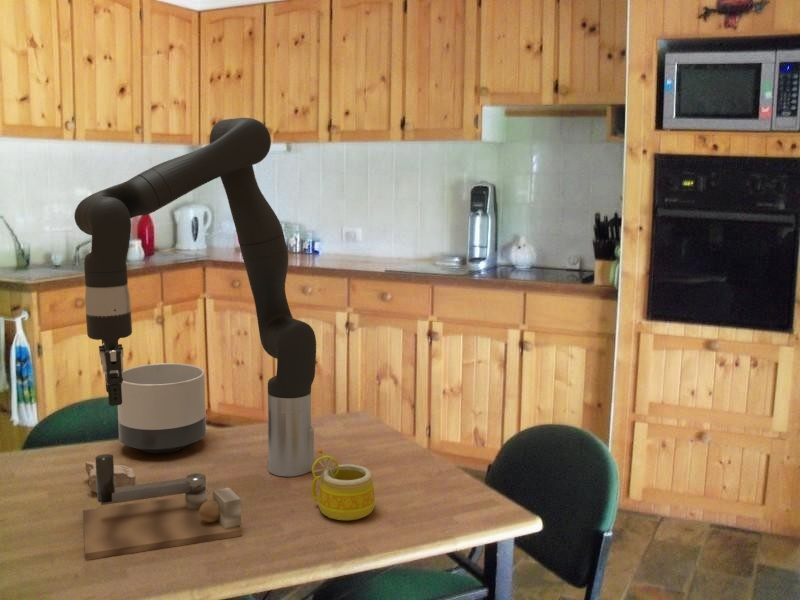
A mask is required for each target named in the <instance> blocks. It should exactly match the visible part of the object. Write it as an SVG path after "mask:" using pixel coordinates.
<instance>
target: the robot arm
mask: <svg viewBox="0 0 800 600" xmlns="http://www.w3.org/2000/svg"><path fill="white" fill-rule="evenodd" d="M271 145H272V138H271V134H270V131H269V130H268V128H267V126H266V125H265V124H264V123H263V122H261V121H259V120H257V119H255V118H252V117H236V118H228V119H222V120H218V122H216V123H215V124H214V125H213V126H212V129H211V131H210V134H209V143H208V144H207V145H205V146H203V147H200V148H198V149H197V150H194V151H191V152H188V153H185V154H183V155H179V156H177V157H174V158H172V159H168V160H166V161H163V162H161V163H159V164H156V165H154V166H152V167H150V168H148V169H146V170H144V171H142V172H140V173H138V174H137V175H135V176H132V178H130V179H128V180H126V181H124V182H122V183H118V184H115V185H112V186H110V187H108V188H104V189H102V190H99V191H97V192H94V193H92V194H90V195H89V196H86V197H85V198H83V199H82V200H81V201H80V202H79V203H78V205H77V206H76V207H75V211H74V215H73V216H74V222H75V224H76V226H77V228H78V229H79V231H80V230H81V232H82V233H85V234H87V235H88V236H91V248H90V249H91V250H90V252H89V253H87V254H85V258H84V263H83V268H84V282H85V290H84V291H85V294H84V303H85V321H86V332H87V333H86V335H87V338H89V339H92V340H96V341H101V345H99V346H98V354H99V359H100V364H101V366H102V374H104V378H105V391H106V393H107V394H108V395H107V396H108V397H107V398H108V405H109V406H110V407H111V406H112V407H115V406H118V405H121V404H122V390H121V384H122V382H123V378H122V372H123V370H124V359H123V357H124V347H123V344H122V343H120V344H119V341H120V339H124V338H128V337H129V336H131V335H132V333H133V326H132V325H133V322H132V311H131V310H132V309H131V295H130V290H129V282H128V281H129V280H128V279H129V278H128V267H127V257H128V253H129V246H130V240H131V233H132V221H131V220H132V218H135V217H141V216H146V215H150V214H152V213H155V212H156V211H158V210H160V209H162V208H163V207H165V206H168V205H169V204H171V203H173V202H174V201H177V199H180V198H181V197H183V196H185V195H187V194H188V193H190V192H192V191H194V190H195V189H198V188H199V187H202V186H203V185H205V184H207V183H209V182H211V181H214V180H215V179H218V178H220V180H221V183H222V185H223V188H224V192H225V194H226V199H227V202H228V205H229V209H230V213H231V217H232V221H233V224H234V227H235V232H236V236H237V240H238V241H237V242H238V245H239V248H240V249H239V250H240V253H241V256H242V260H243V264H244V267H245V269H246V270H245V271H246V275H247V278H248V279H247V280H248V283H249V285H250V286H249V287H250V289H251V290H250V291H251V293H252V296H253V300H254V306H255V313H256V318H257V319H256V320H257V325H258V326H257V327H258V332H259V338H260V343H261V345H262V348H263V350H264V351H265V352H266V353H267V355H269V356H270V357H272V358H274V359H275V360H276V374H275V375H274V376H273V377H272V376H271V377H270V378H269V379H268V381H267V450H268V451H267V455H268V456H267V457H268V459H267V464H268V465H267V466H268V467H267V468H268V472H269V473H270V474H272V475H274V476H279V477H289V478H290V477H298V476H302V475H305V474H307V473H309V472H312V466H313V464H314V462H315V429H314V427H313V426H312V385H313V382H314V380H315V377H316V360H317V339H316V338H317V337H316V334H315V331H314V329H313V327H312V325H310V324H308V323H307V322H304V321H302V320H299V319H297V318H294V317H293V314H292V312H291V309H290V307H289V302H288V299H287V294H286V279H287V273H288V268H289V252H288V245H287V242H286V238H285V234H284V230H283V227H282V224H281V221H280V220H279V218H278V216H277V214H276V212H275V210H274V209H273V208H272V206H271V205H270V203H269V202H268V200H267V199H266V197H265V195H264V194H263V193H262V191H261V189H260V187H259V184H258V182H257V178H256V175H255V169H254V167H253V166H254V165H257V164H259V163H261V162H263V160H264V159H265V158H266V157H267V156H268V154H269V152H270V150H271Z"/></svg>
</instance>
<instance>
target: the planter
mask: <svg viewBox="0 0 800 600" xmlns="http://www.w3.org/2000/svg"><path fill="white" fill-rule="evenodd" d="M122 378H123V382H122V384H121V390H122V404H121V405H117V421H118V422H117V424H118V440H119V442H120V443H121V444H122V445H124V446H127V447H129V448H134V449H137V450H139V451H141V452H145V453H148V454H149V453H150V454H158V455H159V454H161V455H162V454H170V453H174V452H177V451H179V450H182V449H184V448H186V447H188V446H190V445H191V444H193V443H196V442H198V441H200V440H202V439H203V438H204V437H205V436H206V434H207V419H206V418H207V417H206V416H207V415H206V410H207V409H206V372H205V370H204V369H203V368H202V367H199V366H197V365H193V364H187V363H177V362H175V363H174V362H173V363H172V362H171V363H170V362H169V363H168V362H166V363H165V362H163V363H152V364H151V363H150V364H143V365H138V366H132V367H130V368H126V369H123V372H122Z"/></svg>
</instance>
